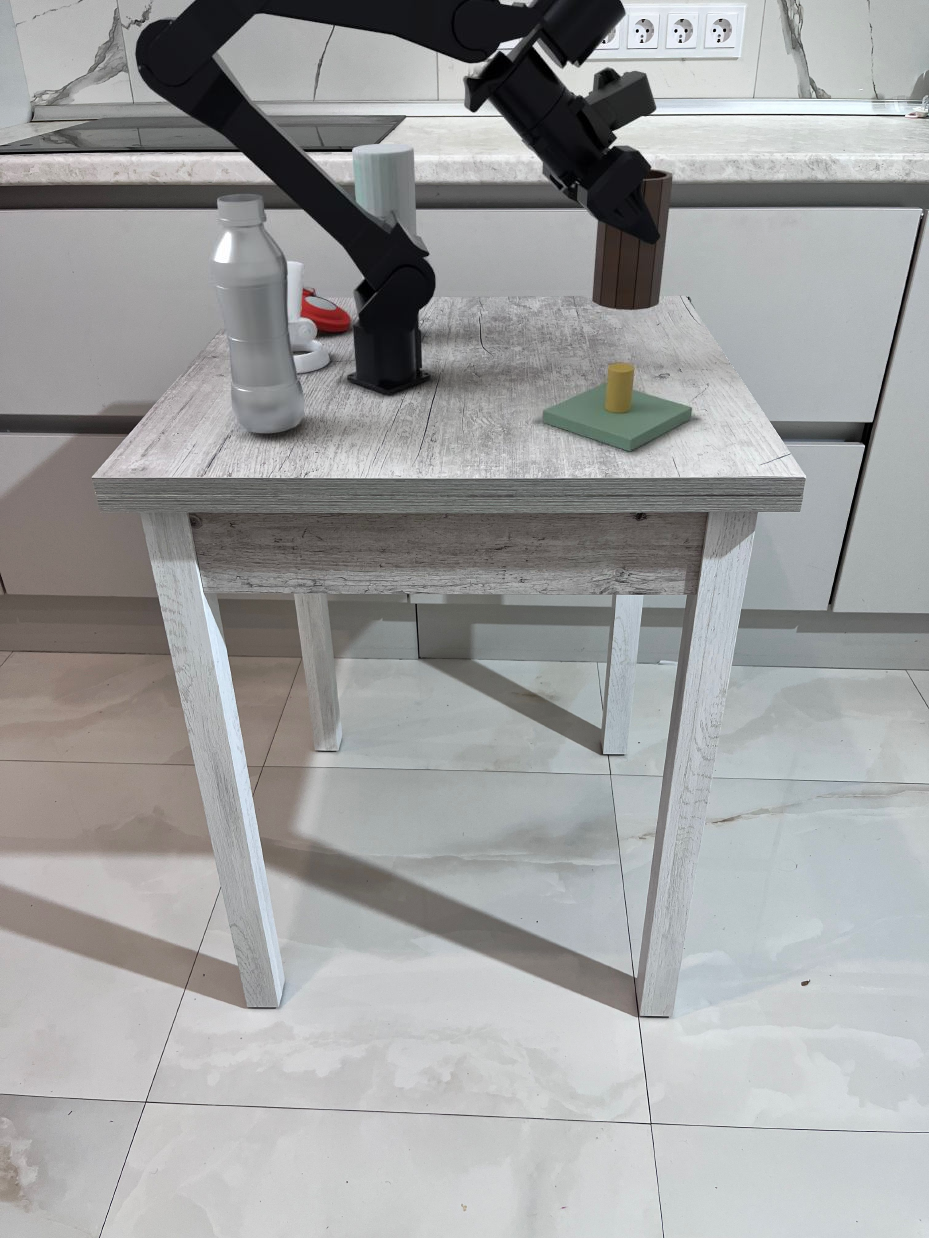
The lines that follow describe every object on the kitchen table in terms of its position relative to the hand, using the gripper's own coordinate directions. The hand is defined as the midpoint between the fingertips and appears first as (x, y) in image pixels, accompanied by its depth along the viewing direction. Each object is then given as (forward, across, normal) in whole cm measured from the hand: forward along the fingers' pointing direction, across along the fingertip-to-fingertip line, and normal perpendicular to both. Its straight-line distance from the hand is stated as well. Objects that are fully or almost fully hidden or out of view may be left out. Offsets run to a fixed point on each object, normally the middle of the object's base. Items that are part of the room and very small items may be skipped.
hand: (644, 232), depth 93 cm
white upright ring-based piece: (-16, +8, +35) cm, 39 cm away
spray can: (-8, +14, +27) cm, 31 cm away
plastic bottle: (-17, -11, +37) cm, 42 cm away
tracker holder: (-14, +21, +34) cm, 42 cm away
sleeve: (+4, 0, +6) cm, 7 cm away
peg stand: (+5, -15, +14) cm, 21 cm away
